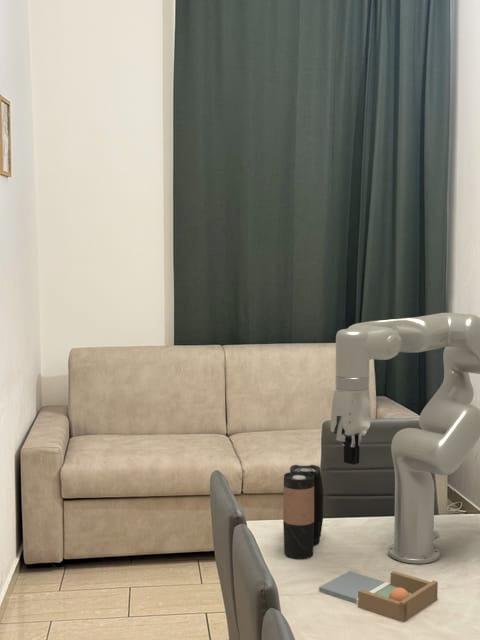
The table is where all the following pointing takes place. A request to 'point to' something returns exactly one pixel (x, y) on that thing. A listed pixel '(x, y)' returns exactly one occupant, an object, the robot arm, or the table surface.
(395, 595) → the ball
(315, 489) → the portable speaker
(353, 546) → the table surface
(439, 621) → the table surface
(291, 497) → the travel mug
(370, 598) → the lane
